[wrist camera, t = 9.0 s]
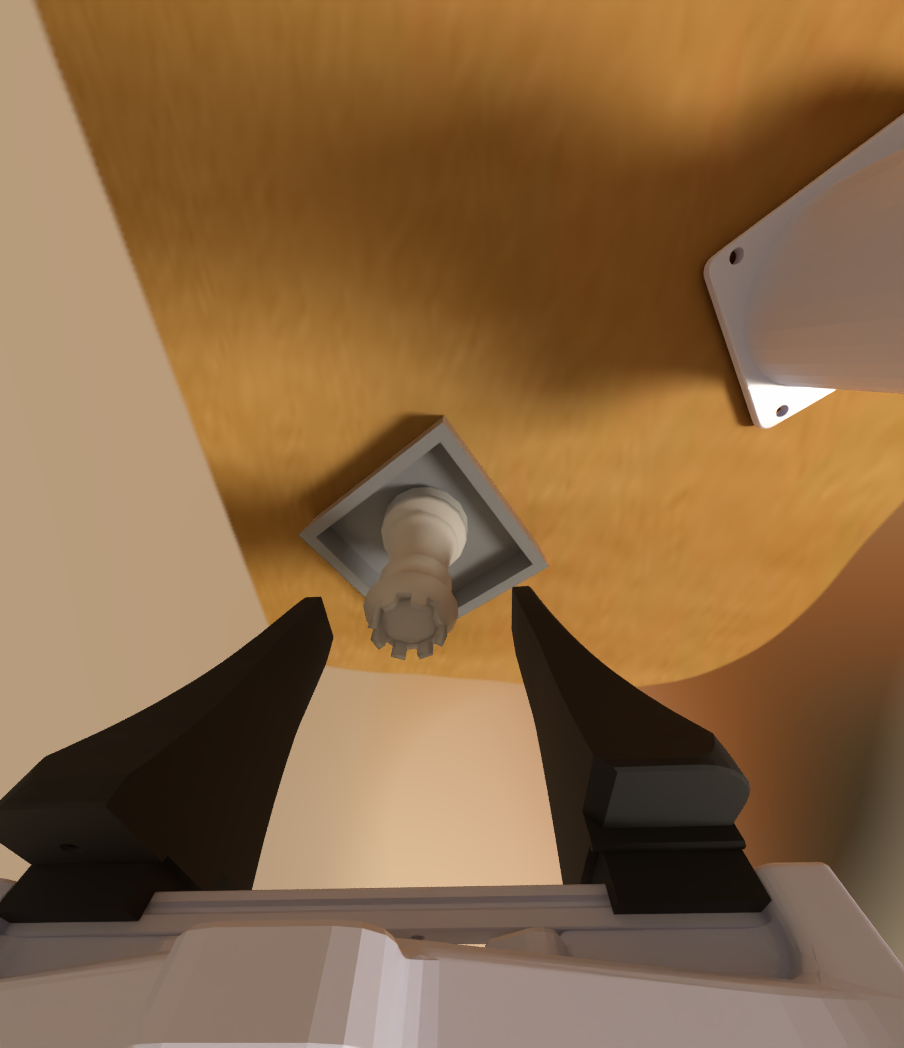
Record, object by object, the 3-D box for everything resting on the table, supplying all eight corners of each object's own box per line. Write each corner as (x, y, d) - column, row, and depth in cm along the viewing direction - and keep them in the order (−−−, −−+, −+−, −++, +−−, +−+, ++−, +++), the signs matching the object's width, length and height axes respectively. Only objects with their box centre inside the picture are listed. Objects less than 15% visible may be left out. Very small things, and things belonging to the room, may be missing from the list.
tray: (444, 415, 16) (442, 422, 14) (539, 547, 19) (548, 566, 17) (313, 517, 18) (298, 535, 16) (418, 619, 21) (414, 643, 19)
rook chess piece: (371, 536, 18) (316, 650, 11) (407, 467, 16) (372, 548, 9) (442, 570, 19) (435, 695, 12) (483, 509, 17) (505, 612, 10)
